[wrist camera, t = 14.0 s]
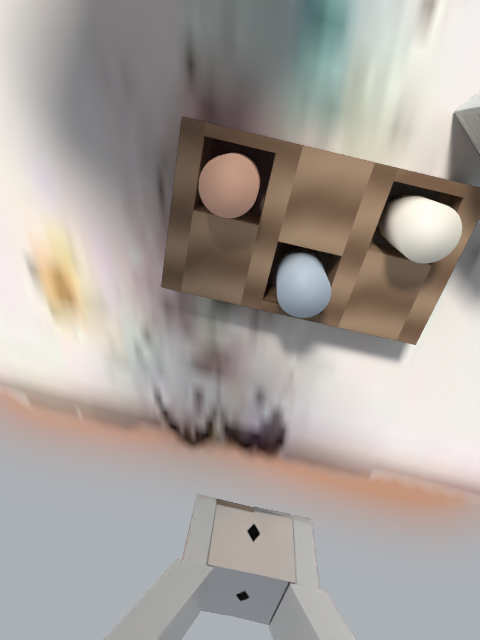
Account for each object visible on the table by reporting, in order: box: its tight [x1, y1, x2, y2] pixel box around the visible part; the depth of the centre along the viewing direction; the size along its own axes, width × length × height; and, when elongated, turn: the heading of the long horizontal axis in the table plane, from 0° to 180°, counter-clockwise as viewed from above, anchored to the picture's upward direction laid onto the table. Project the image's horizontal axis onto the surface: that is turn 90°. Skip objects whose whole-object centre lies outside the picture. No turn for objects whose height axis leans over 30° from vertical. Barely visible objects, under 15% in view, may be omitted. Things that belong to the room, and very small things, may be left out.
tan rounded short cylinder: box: [199, 152, 261, 218], centre depth 30 cm, size 5×5×6 cm
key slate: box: [276, 249, 331, 318], centre depth 34 cm, size 5×5×6 cm
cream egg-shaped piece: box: [379, 194, 462, 264], centre depth 31 cm, size 5×5×6 cm
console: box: [161, 117, 480, 345], centre depth 35 cm, size 15×26×4 cm, turn 78°
